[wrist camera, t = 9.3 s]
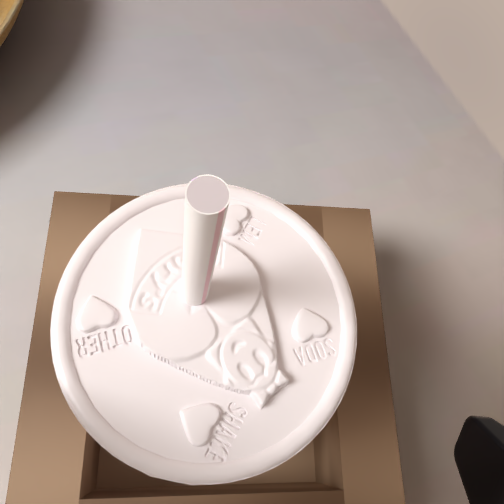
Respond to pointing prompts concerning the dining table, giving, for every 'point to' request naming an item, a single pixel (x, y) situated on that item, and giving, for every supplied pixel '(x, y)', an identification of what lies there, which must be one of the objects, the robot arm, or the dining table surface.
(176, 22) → the dining table surface
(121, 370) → the smoothie
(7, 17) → the plant saucer
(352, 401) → the caddy
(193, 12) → the dining table surface
